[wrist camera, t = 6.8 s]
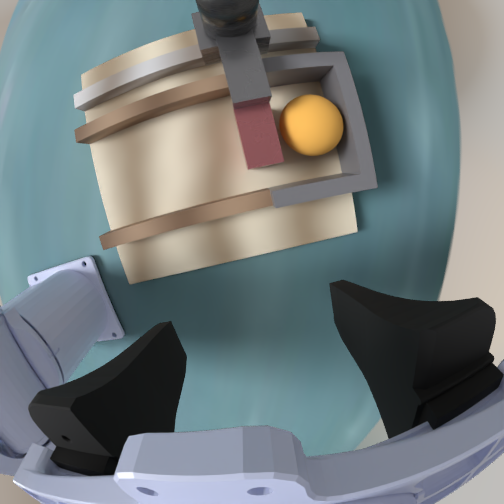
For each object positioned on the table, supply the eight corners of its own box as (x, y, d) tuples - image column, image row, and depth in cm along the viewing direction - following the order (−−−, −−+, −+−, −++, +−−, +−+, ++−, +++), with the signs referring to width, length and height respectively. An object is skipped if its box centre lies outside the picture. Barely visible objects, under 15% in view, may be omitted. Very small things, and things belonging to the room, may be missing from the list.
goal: (270, 202, 19) (275, 208, 15) (240, 80, 16) (239, 62, 13) (356, 184, 18) (377, 187, 15) (328, 68, 16) (343, 51, 13)
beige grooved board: (134, 279, 21) (120, 294, 18) (86, 77, 16) (68, 68, 13) (352, 229, 20) (368, 238, 18) (299, 18, 15) (306, 0, 12)
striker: (232, 173, 18) (224, 173, 10) (200, 40, 15) (177, -26, 7) (291, 160, 18) (327, 152, 10) (255, 29, 15) (262, -40, 7)
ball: (352, 150, 17) (297, 159, 19) (338, 95, 16) (285, 106, 17) (345, 150, 13) (278, 163, 15) (328, 82, 12) (262, 99, 14)
